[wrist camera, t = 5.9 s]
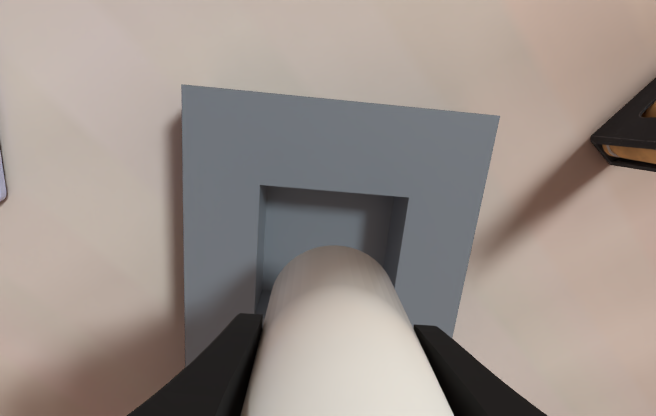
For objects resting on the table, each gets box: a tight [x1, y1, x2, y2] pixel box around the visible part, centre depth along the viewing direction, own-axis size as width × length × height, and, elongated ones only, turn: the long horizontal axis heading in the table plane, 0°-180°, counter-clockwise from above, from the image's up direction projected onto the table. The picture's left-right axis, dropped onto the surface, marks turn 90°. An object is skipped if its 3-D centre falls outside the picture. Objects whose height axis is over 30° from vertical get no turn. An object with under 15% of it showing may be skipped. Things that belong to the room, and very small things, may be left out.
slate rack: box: [181, 84, 500, 368], centre depth 16 cm, size 12×22×8 cm, turn 175°
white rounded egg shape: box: [241, 245, 454, 416], centre depth 8 cm, size 4×4×7 cm
